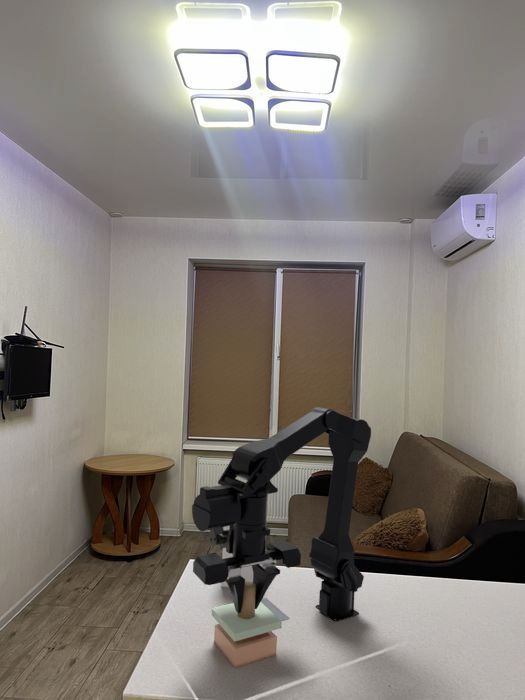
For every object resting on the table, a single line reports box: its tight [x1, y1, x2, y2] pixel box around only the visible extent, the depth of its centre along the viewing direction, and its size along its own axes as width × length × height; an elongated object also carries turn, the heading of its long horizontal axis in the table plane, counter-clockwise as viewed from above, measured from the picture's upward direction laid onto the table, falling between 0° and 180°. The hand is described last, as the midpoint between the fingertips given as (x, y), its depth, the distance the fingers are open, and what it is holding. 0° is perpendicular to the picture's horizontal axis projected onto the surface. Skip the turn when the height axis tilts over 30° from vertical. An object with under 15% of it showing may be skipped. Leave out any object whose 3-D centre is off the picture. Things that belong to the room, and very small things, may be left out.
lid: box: [211, 582, 283, 642], centre depth 84 cm, size 9×9×6 cm
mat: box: [261, 597, 291, 622], centre depth 96 cm, size 9×9×1 cm
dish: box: [213, 623, 278, 669], centre depth 84 cm, size 8×8×4 cm
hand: (246, 610), depth 84 cm, fingers closed on lid, 3 cm apart
